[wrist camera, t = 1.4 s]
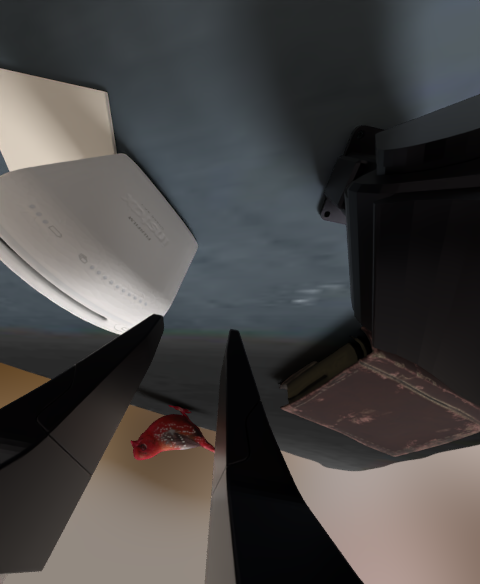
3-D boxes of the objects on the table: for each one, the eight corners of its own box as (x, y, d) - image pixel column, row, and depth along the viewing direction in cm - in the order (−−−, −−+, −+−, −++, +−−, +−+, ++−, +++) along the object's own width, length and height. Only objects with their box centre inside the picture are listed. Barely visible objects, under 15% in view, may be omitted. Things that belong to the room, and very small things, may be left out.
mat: (107, 92, 15) (104, 91, 15) (136, 276, 24) (134, 278, 24) (-33, 61, 15) (-40, 59, 14) (51, 259, 24) (48, 260, 24)
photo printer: (206, 246, 21) (166, 341, 11) (175, 265, 23) (117, 363, 13) (126, 142, 16) (-69, 150, 6) (94, 174, 18) (-105, 222, 8)
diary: (364, 318, 26) (382, 351, 22) (483, 388, 31) (516, 424, 27) (275, 383, 36) (277, 414, 32) (378, 427, 42) (390, 458, 37)
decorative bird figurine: (151, 394, 42) (124, 454, 34) (229, 419, 45) (222, 479, 37) (148, 399, 44) (122, 458, 36) (224, 424, 47) (216, 482, 39)
